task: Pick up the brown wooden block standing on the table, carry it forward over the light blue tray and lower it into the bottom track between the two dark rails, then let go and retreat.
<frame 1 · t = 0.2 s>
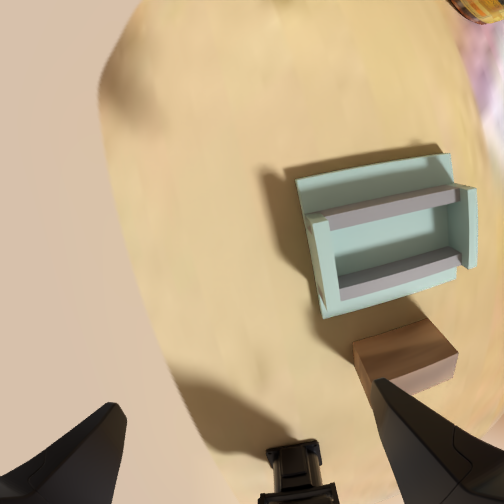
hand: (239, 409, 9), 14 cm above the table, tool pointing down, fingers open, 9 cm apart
sauce bottle: (465, 3, 14), on the table
light blue tray: (387, 232, 21), on the table
brown wooden block: (391, 342, 25), on the table
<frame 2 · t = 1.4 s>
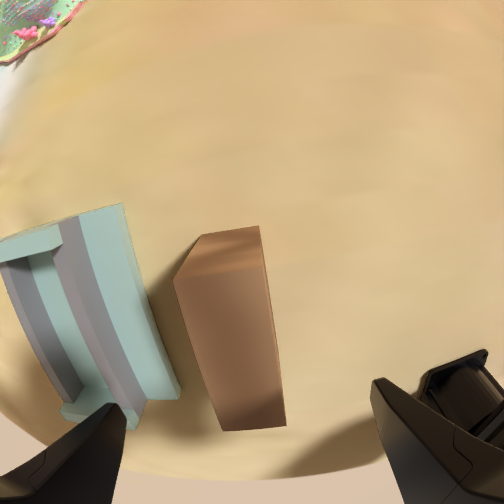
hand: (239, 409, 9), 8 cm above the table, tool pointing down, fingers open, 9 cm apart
light blue tray: (80, 316, 17), on the table
brown wooden block: (243, 299, 16), on the table
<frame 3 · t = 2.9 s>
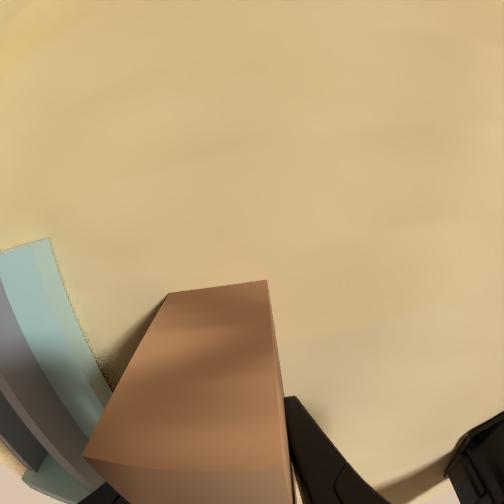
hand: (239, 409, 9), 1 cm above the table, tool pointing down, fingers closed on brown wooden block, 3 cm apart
light blue tray: (28, 379, 10), on the table
brown wooden block: (240, 385, 10), on the table, touching gripper
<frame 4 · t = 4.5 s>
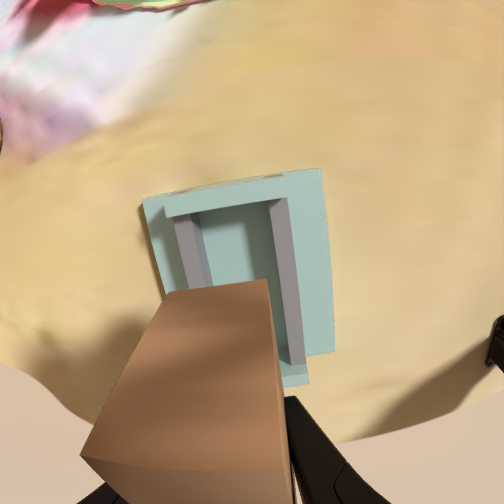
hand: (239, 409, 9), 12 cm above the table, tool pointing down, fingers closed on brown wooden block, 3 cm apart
light blue tray: (247, 278, 20), on the table
brown wooden block: (240, 384, 10), point 10 cm above the table, touching gripper
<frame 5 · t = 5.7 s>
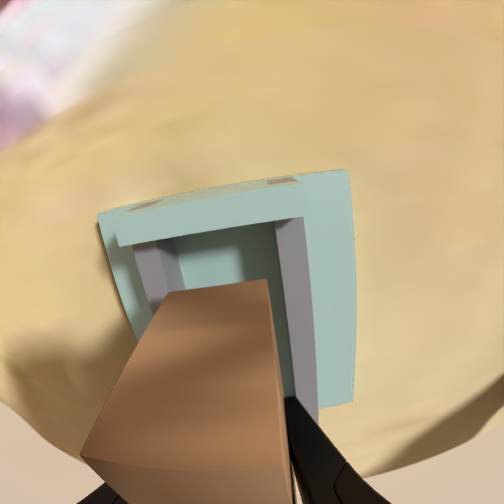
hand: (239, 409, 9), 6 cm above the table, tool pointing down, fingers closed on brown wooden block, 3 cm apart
light blue tray: (242, 318, 14), on the table
brown wooden block: (240, 384, 10), point 5 cm above the table, touching gripper
when the fingers open (3 cm above the table, at t = 6.6 s): brown wooden block drops 1 cm, resting on light blue tray.
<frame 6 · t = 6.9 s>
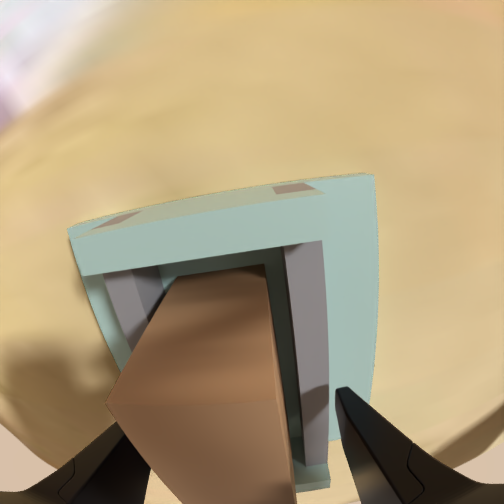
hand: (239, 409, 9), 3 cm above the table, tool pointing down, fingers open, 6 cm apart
light blue tray: (241, 349, 12), on the table
brown wooden block: (241, 363, 11), point 1 cm above the table, touching light blue tray
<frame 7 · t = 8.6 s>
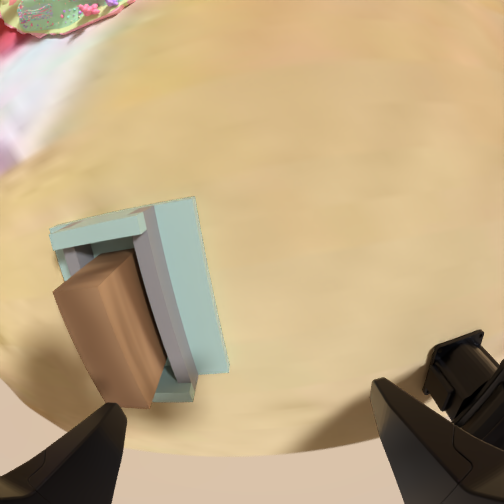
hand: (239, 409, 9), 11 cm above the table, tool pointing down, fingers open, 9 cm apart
light blue tray: (139, 299, 20), on the table
brown wooden block: (135, 304, 19), point 1 cm above the table, touching light blue tray
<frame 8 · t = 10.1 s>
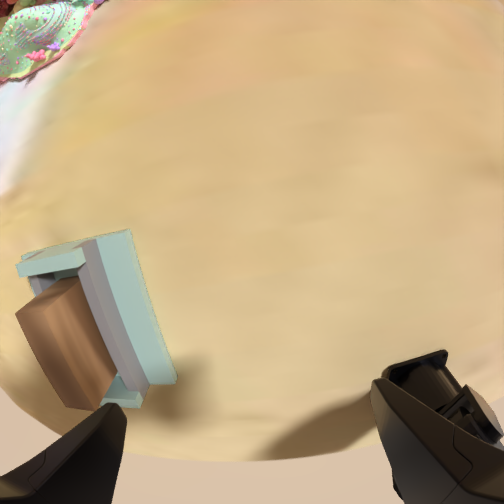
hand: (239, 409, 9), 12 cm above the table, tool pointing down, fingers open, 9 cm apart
light blue tray: (96, 316, 21), on the table
brown wooden block: (91, 322, 21), point 1 cm above the table, touching light blue tray
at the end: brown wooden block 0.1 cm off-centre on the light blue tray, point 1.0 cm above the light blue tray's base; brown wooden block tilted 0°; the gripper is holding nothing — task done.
